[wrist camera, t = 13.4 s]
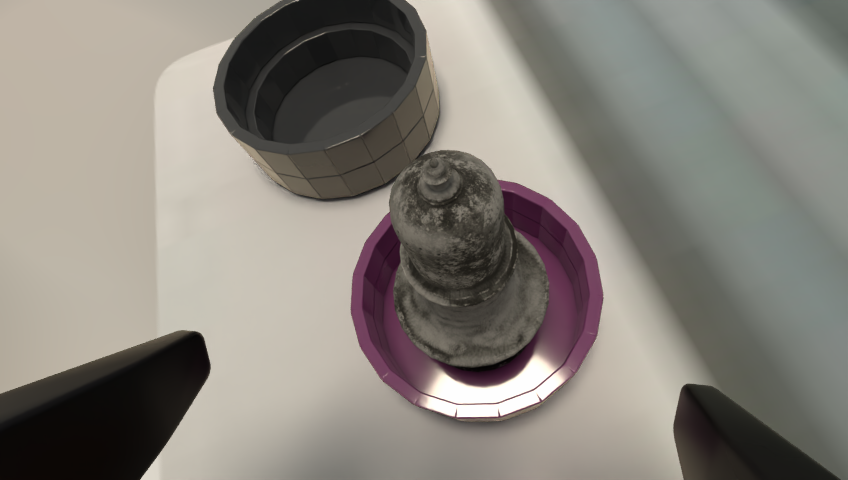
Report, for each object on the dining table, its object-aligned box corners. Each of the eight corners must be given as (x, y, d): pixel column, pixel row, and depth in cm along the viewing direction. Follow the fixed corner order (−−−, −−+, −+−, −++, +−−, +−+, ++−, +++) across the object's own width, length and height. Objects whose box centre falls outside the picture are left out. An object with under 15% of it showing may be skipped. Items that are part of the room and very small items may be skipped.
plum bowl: (605, 419, 17) (626, 416, 14) (371, 423, 19) (343, 420, 16) (570, 206, 21) (580, 166, 18) (378, 223, 23) (357, 189, 20)
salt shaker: (429, 396, 19) (318, 340, 8) (399, 271, 21) (283, 101, 10) (564, 356, 18) (640, 242, 8) (516, 235, 21) (522, 20, 10)
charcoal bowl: (442, 190, 23) (427, 137, 19) (245, 210, 25) (193, 165, 21) (437, 35, 28) (425, -34, 24) (271, 61, 29) (233, 1, 25)
